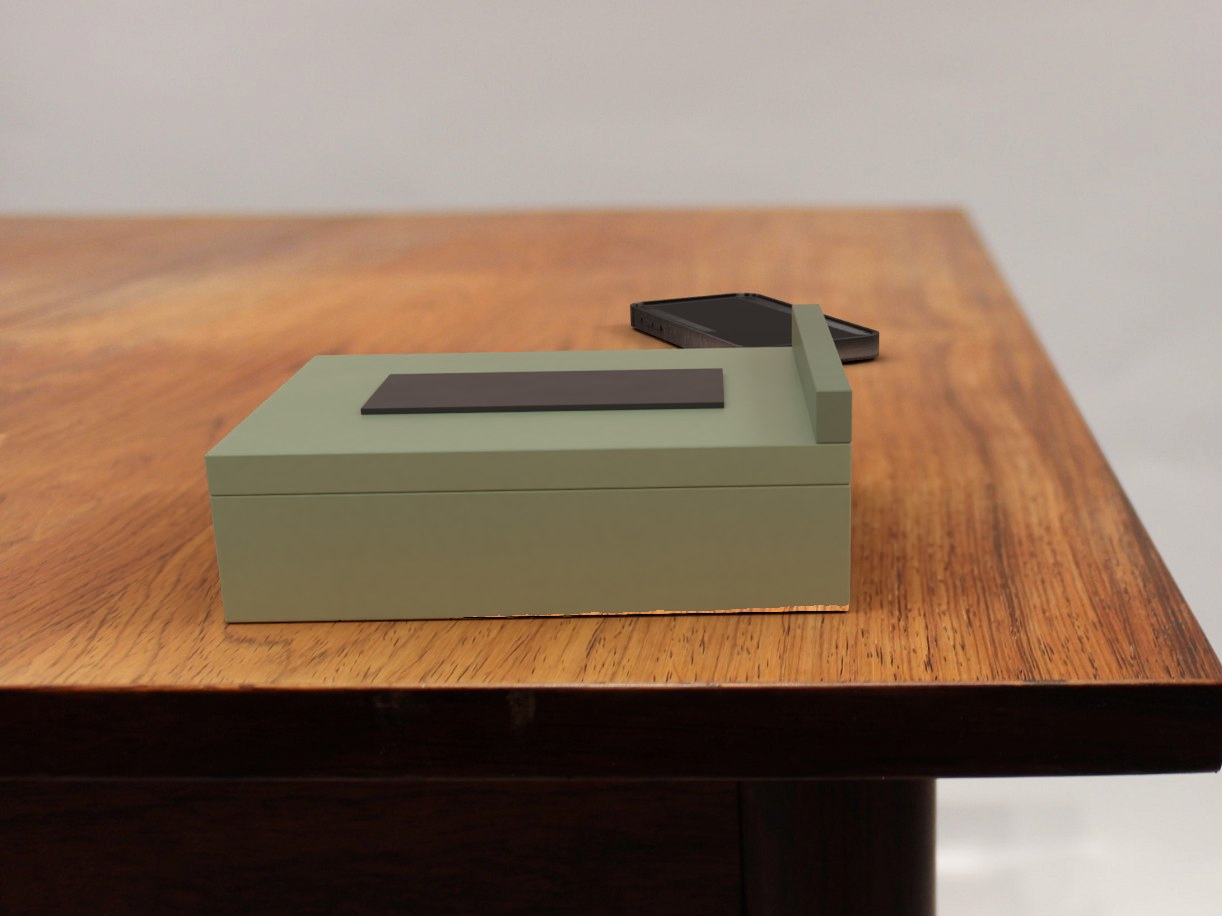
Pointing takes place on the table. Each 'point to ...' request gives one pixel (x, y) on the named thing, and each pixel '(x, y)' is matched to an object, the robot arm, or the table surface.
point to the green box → (541, 484)
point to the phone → (741, 324)
